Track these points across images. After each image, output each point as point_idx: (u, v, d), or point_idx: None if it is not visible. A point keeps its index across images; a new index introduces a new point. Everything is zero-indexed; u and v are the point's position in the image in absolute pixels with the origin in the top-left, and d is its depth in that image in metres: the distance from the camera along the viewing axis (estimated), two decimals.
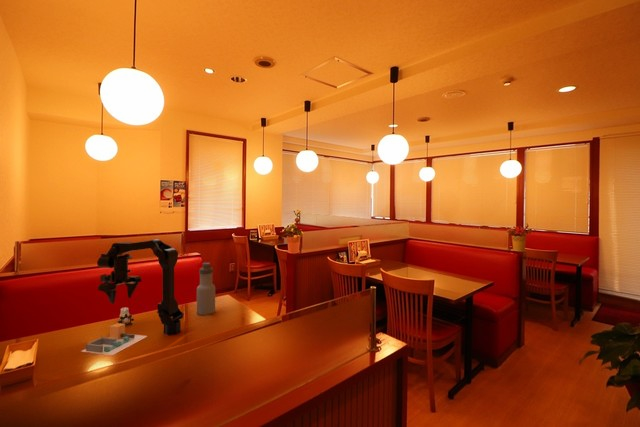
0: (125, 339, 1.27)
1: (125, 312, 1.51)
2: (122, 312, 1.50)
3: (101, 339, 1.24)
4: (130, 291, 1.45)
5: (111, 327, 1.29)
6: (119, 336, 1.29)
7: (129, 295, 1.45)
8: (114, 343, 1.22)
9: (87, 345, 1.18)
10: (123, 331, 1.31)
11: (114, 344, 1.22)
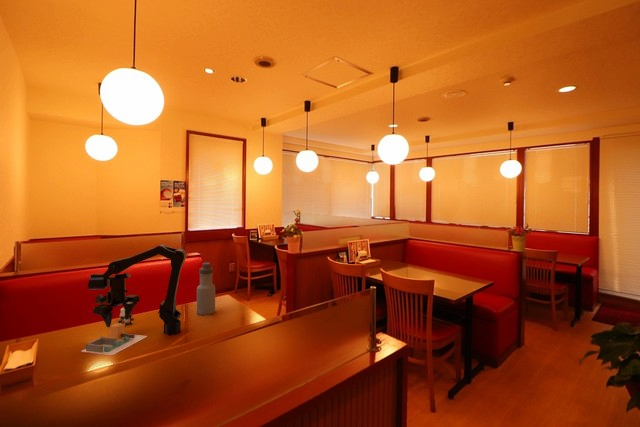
0: (125, 339, 1.27)
1: None
2: (122, 312, 1.51)
3: (101, 339, 1.24)
4: (128, 312, 1.35)
5: (111, 327, 1.29)
6: (119, 336, 1.29)
7: (126, 316, 1.35)
8: (114, 343, 1.22)
9: (87, 345, 1.18)
10: (123, 331, 1.31)
11: (114, 344, 1.22)
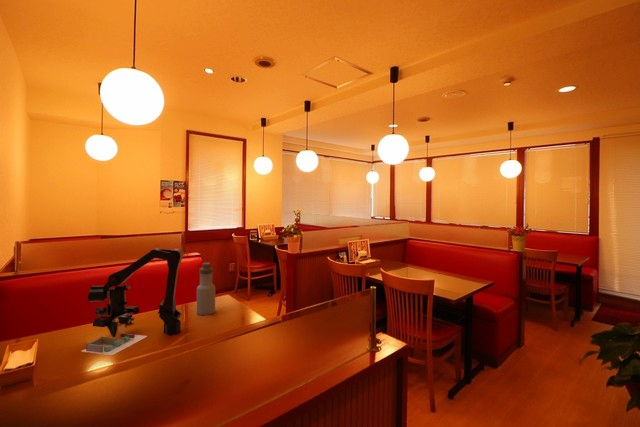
0: (125, 339, 1.27)
1: None
2: None
3: (101, 339, 1.24)
4: None
5: None
6: (119, 336, 1.29)
7: None
8: (114, 343, 1.22)
9: (87, 345, 1.18)
10: (123, 331, 1.31)
11: (114, 344, 1.22)
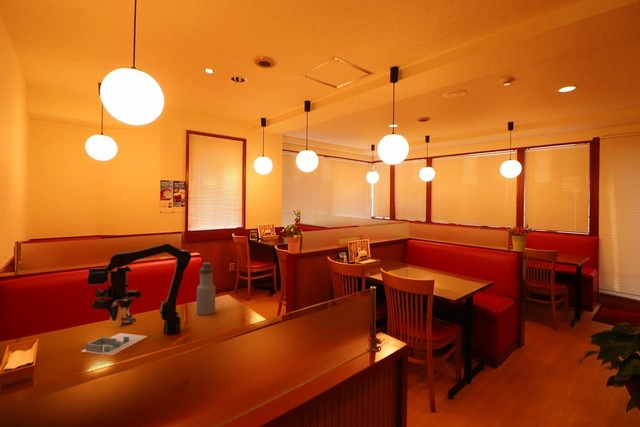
0: (125, 339, 1.27)
1: None
2: None
3: (101, 339, 1.24)
4: None
5: None
6: (120, 320, 1.24)
7: None
8: (114, 343, 1.22)
9: (87, 345, 1.18)
10: (124, 315, 1.26)
11: (114, 344, 1.22)
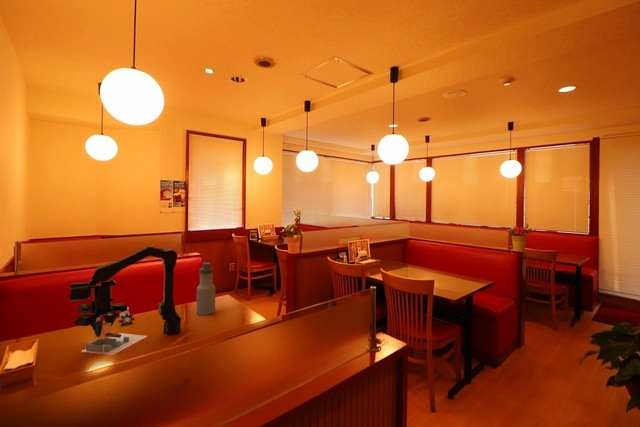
0: (125, 339, 1.27)
1: (125, 311, 1.52)
2: None
3: (101, 339, 1.24)
4: None
5: None
6: (104, 336, 1.20)
7: None
8: (114, 343, 1.22)
9: (87, 345, 1.18)
10: (109, 330, 1.22)
11: (114, 344, 1.22)
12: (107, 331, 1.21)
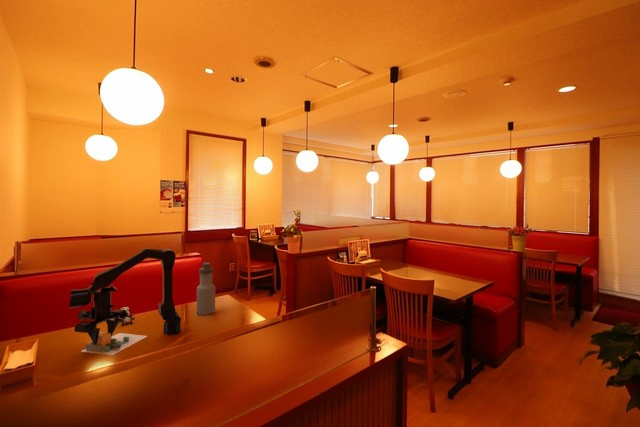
0: (125, 339, 1.27)
1: None
2: None
3: None
4: (111, 329, 1.24)
5: None
6: (104, 346, 1.20)
7: None
8: (114, 343, 1.22)
9: (87, 345, 1.18)
10: (109, 341, 1.22)
11: None
12: (107, 342, 1.21)
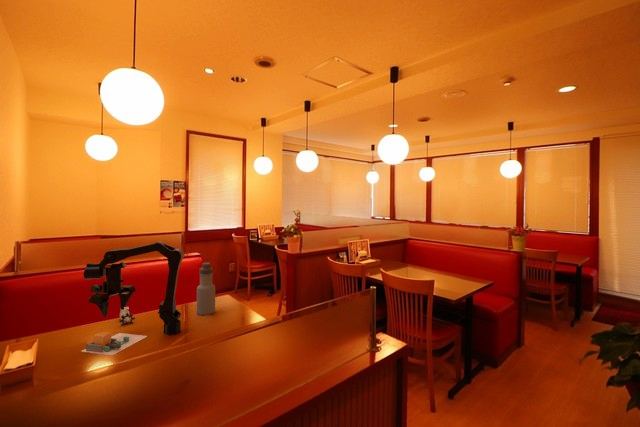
0: (125, 339, 1.27)
1: (125, 311, 1.52)
2: (122, 311, 1.52)
3: None
4: (123, 302, 1.35)
5: (95, 337, 1.20)
6: (104, 346, 1.20)
7: (122, 306, 1.35)
8: (114, 343, 1.22)
9: (87, 345, 1.18)
10: (109, 341, 1.22)
11: None
12: (107, 342, 1.21)
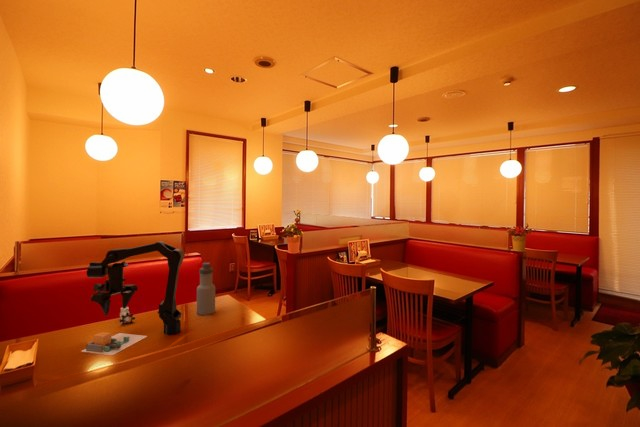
0: (125, 339, 1.27)
1: (125, 311, 1.52)
2: (122, 311, 1.52)
3: None
4: (125, 301, 1.37)
5: (95, 337, 1.20)
6: (104, 346, 1.20)
7: (124, 305, 1.36)
8: (114, 343, 1.22)
9: (87, 345, 1.18)
10: (109, 341, 1.22)
11: None
12: (107, 342, 1.21)
